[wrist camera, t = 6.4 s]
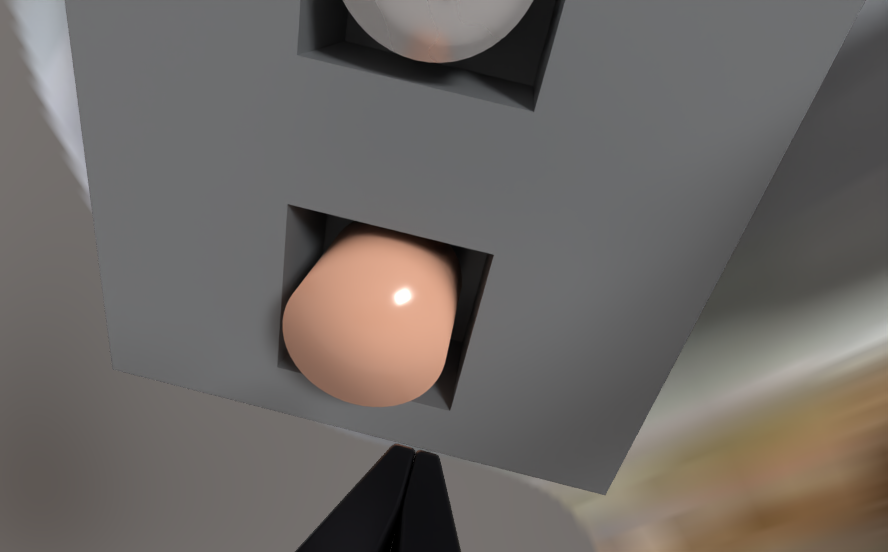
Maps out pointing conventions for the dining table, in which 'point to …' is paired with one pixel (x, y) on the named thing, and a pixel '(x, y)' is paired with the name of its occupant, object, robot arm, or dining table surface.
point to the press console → (440, 197)
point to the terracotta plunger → (375, 315)
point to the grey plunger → (437, 25)
